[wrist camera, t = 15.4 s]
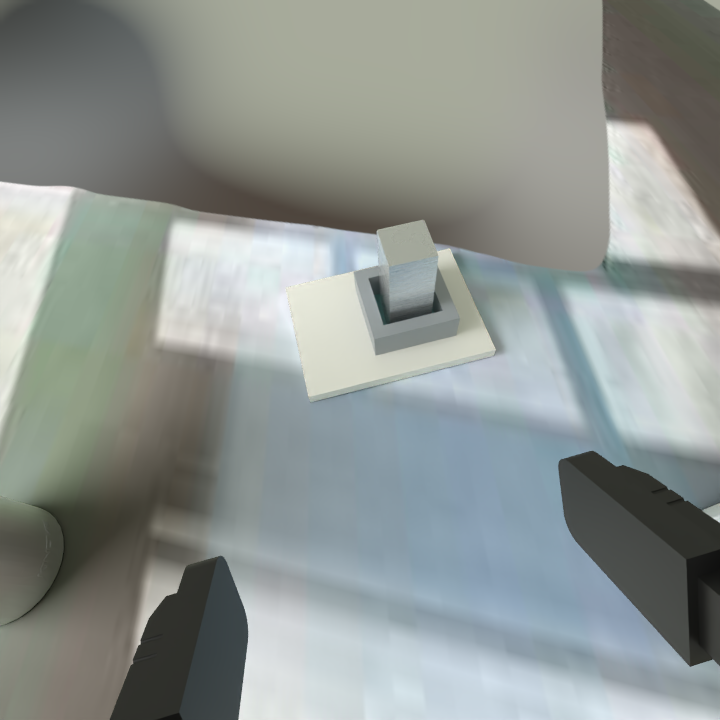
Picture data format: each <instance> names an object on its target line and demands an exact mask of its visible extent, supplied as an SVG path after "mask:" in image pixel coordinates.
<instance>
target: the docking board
mask: <svg viewBox="0 0 720 720" xmlns="http://www.w3.org/2000/svg"><path fill="white" fill-rule="evenodd" d="M437 253H438V255H439V257H438V265H437V274H436V282H435V290H434V299H433V307H432V313H431V314H427V315H423V316H419V317H415V318H411V319H407V320H403V321H399V322H395V323H391V324H387V321H386V318H385V315H384V312H383V308H382V305H381V302H380V283H379V265H378V266H374V267H370V268H366V269H361V270H357V271H353V272H349V273H345V274H340V275H336V276H332V277H328V278H324V279H319V280H315V281H311V282H307V283H303V284H299V285H294V286H290V287H286V292H287V297H288V302H289V307H290V311H291V316H292V321H293V326H294V331H295V335H296V340H297V345H298V350H299V354H300V359H301V364H302V369H303V373H304V378H305V383H306V388H307V392H308V397H309V400H310V402H314V401H318V400H322V399H326V398H330V397H334V396H338V395H341V394H345V393H349V392H353V391H357V390H361V389H365V388H369V387H373V386H377V385H381V384H385V383H389V382H393V381H397V380H401V379H405V378H408V377H412V376H416V375H420V374H424V373H428V372H432V371H436V370H440V369H444V368H448V367H452V366H456V365H460V364H464V363H468V362H472V361H475V360H479V359H483V358H487V357H491V356H494V353H495V351H496V349H495V347H494V344H493V342H492V340H491V338H490V336H489V333H488V331H487V329H486V327H485V325H484V322H483V320H482V318H481V316H480V314H479V311H478V309H477V307H476V305H475V303H474V300H473V298H472V296H471V294H470V292H469V289H468V287H467V285H466V283H465V281H464V278H463V276H462V274H461V272H460V270H459V267H458V265H457V263H456V261H455V259H454V256H453V254H452V252H451V250H450V248H449V249H445V250H441V251H437Z"/></svg>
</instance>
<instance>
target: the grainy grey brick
mask: <svg viewBox="0 0 720 720" xmlns="http://www.w3.org/2000/svg"><path fill="white" fill-rule="evenodd" d="M377 243H378V263H379V283H380V302H381V305H382V308H383V312H384V315H385V318H386V321H387V324H391V323H395V322H399V321H403V320H407V319H411V318H415V317H419V316H423V315H427V314H431V313H432V307H433V299H434V290H435V282H436V274H437V265H438V257H439V255H438V253H437V250H436V248H435V245H434V243H433V241H432V238H431V236H430V233H429V231H428V229H427V226H426V223H425V221H424V220H421V221H416V222H411V223H407V224H402V225H397V226H393V227H388V228H384V229H379V230H377Z"/></svg>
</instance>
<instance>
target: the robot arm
mask: <svg viewBox="0 0 720 720" xmlns="http://www.w3.org/2000/svg"><path fill="white" fill-rule="evenodd" d="M558 468H559V477H560V485H561V493H562V502H563V510H564V517H565V520H566V524H567V526H568V528H569V531H570V533H571V534H572V536H573V538H574V539H575V541H576V542H577V543H578V544H579V545H580V547H581V548H582V549H583V550H584V551H585V552H586V553H587V554H588V555H589V556H590V557H591V559H592V560H593V561H594V562H595V563H596V564H597V565H598V566H599V567H600V568H601V570H602V571H603V572H604V573H605V574H606V575H607V576H608V577H609V578H610V579H611V581H612V582H613V583H614V584H615V585H616V586H617V587H618V588H619V589H620V590H621V591H622V593H623V594H624V595H625V596H626V597H627V598H628V599H629V600H630V601H631V602H632V604H633V605H634V606H635V607H636V608H637V609H638V610H639V611H640V612H641V613H642V615H643V616H644V617H645V618H646V619H647V620H648V621H649V622H650V623H651V624H652V625H653V627H654V628H655V629H656V630H657V631H658V632H659V633H660V634H661V635H662V636H663V638H664V639H665V640H666V641H667V642H668V643H669V644H670V645H671V646H672V647H673V648H674V650H675V651H676V652H677V653H678V654H679V655H680V656H681V657H682V658H683V659H684V661H685V662H686V663H687V664H688V665H689V666H690V667H691V666H694V665H697V664H700V663H703V662H706V661H709V660H712V659H713V660H714V661H715V662H716V663H717V664H718V665H719V666H720V523H719V522H718V521H716V520H715V519H713V518H712V517H710V516H709V515H708V514H706V513H705V512H703V511H702V510H700V509H699V508H697V507H696V506H694V505H693V504H691V503H690V502H688V501H684V499H683V498H682V497H681V496H680V495H678V494H677V493H675V492H674V491H672V490H668V489H667V487H666V486H665V485H663V484H662V483H660V482H659V481H657V480H656V479H654V478H653V477H652V476H650V475H649V474H647V473H644V472H641V471H638V470H635V469H632V468H630V467H627V466H624V465H622V466H618V467H616V466H614V465H613V464H612V463H610V462H609V461H607V460H606V459H605V458H603V457H602V456H600V455H599V454H598V453H596V452H594V451H589V452H585V453H582V454H578V455H575V456H571V457H568V458H564V459H561V460H560V461H559V465H558ZM63 550H64V542H63V534H62V531H61V527H60V525H59V524H58V522H57V520H56V518H55V517H53V516H52V515H51V514H50V513H49V512H48V511H45V510H43V509H41V508H39V507H35V506H32V505H28V504H25V503H22V502H18V501H15V500H11V499H8V498H5V497H2V496H0V626H1V625H5V624H8V623H10V622H12V621H14V620H16V619H18V618H19V617H21V616H22V615H24V614H25V613H26V612H28V611H29V610H31V609H32V608H33V607H34V606H35V605H36V604H37V603H38V602H39V601H40V600H41V599H42V597H43V596H44V595H45V593H46V592H47V591H48V589H49V588H50V587H51V585H52V583H53V581H54V579H55V577H56V576H57V573H58V570H59V568H60V565H61V562H62V556H63ZM140 641H141V645H139V646H138V648H137V651H136V653H135V656H134V659H133V664H132V665H131V666H130V669H129V671H128V674H127V677H126V679H125V682H124V684H123V687H122V689H121V692H120V695H119V697H118V700H117V702H116V705H115V708H114V710H113V713H112V715H111V718H110V720H238V717H239V709H240V701H241V692H242V684H243V676H244V668H245V660H246V652H247V643H248V624H247V618H246V613H245V609H244V606H243V604H242V601H241V599H240V596H239V593H238V591H237V588H236V586H235V583H234V580H233V578H232V575H231V572H230V570H229V567H228V565H227V562H226V560H225V559H224V557H222V556H218V557H215V558H211V559H208V560H204V561H201V562H197V563H194V564H190V565H188V566H187V567H186V568H185V571H184V574H183V577H182V580H181V583H180V586H179V589H178V592H177V593H176V594H172V595H169V596H166V597H165V598H164V600H163V601H162V602H161V603H160V605H159V606H158V607H157V609H156V610H155V611H154V613H153V614H152V615H151V616H150V618H149V620H148V622H147V625H146V628H145V630H144V633H143V635H142V638H141V640H140Z"/></svg>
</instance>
